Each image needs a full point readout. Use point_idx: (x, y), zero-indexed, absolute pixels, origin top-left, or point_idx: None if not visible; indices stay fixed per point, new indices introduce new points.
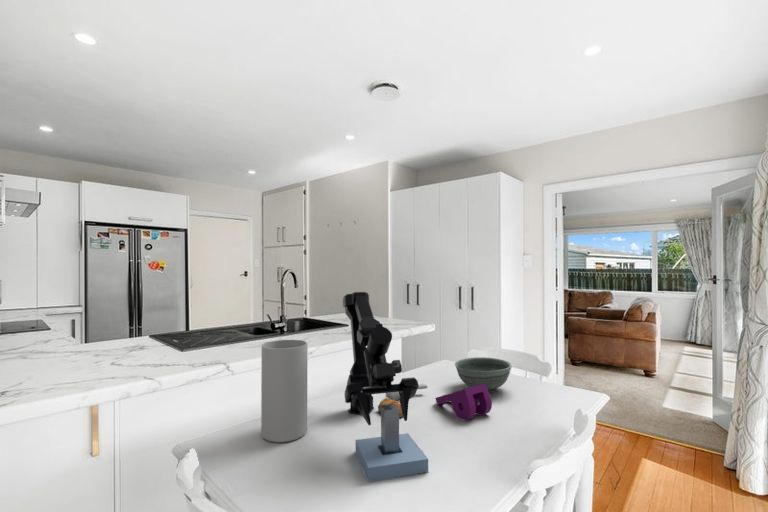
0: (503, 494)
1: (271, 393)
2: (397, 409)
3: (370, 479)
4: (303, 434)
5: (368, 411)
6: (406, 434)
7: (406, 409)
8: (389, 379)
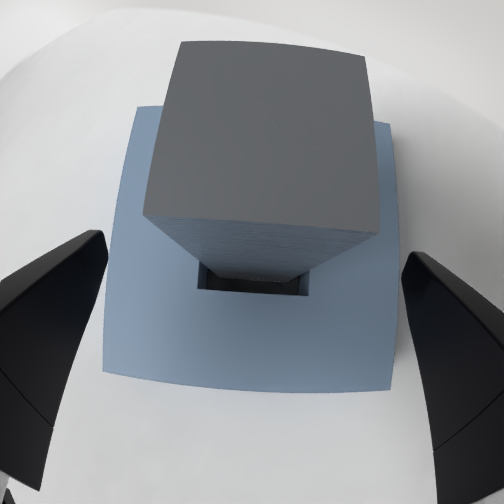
0: (67, 33)
1: None
2: (201, 42)
3: None
4: (476, 502)
5: (465, 301)
6: (113, 362)
7: (40, 264)
8: None
